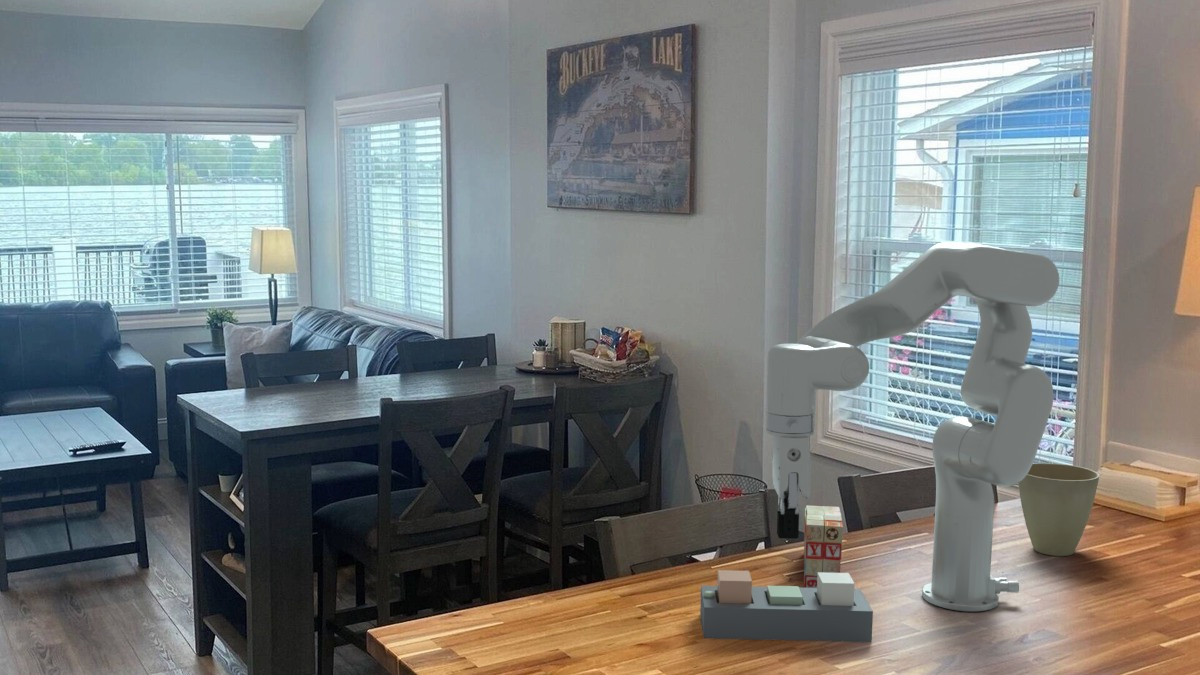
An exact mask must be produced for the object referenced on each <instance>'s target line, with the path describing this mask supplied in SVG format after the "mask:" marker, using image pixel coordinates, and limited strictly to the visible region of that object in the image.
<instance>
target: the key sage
mask: <svg viewBox="0 0 1200 675" xmlns="http://www.w3.org/2000/svg"><path fill="white" fill-rule="evenodd" d="M766 587H767V602H768V604H787V605H802V602H803V597H802V594H801V592H800V589H799V588H800V587H799V586H798V585H797V586H796V585H795V586H794V585H767V586H766Z"/></svg>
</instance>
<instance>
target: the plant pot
mask: <svg viewBox="0 0 1200 675" xmlns="http://www.w3.org/2000/svg"><path fill="white" fill-rule="evenodd" d="M1100 475H1101V474H1099V472H1097V471H1094V470H1093V469H1091V468H1087V467H1082V466H1077V465H1072V464H1064V463H1053V462H1052V463H1051V462H1035V463H1034V462H1033V464H1032V466H1031V468H1030V470H1029V472H1028V474H1027V475H1026V476H1025V478H1024V479H1023V480H1022V481H1020V482H1019V483H1017V485H1018V491H1019V499H1020V504H1021V508H1022V509H1021V510H1022V514H1023V517H1024V522H1025V525H1026V529H1027V532H1028V536H1029V539H1030V543H1031V546H1032V548H1033V550H1035V551H1036V552H1037V553H1040V554H1043V555H1047V556H1054V557H1055V556H1056V557H1066V556H1072V555H1073V554H1074V553H1075V552H1076V550H1077V547H1078V546H1079V543H1080V541H1081V539H1082V536H1083V534H1084V531H1085V528H1086V526H1087V523H1088V521H1089V519H1090V518H1089V517H1090V515H1091V513H1092V508H1093V506H1094V502H1095V497H1096V493H1097V489H1098V485H1099V480H1100Z"/></svg>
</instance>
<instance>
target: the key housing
mask: <svg viewBox="0 0 1200 675" xmlns="http://www.w3.org/2000/svg"><path fill="white" fill-rule="evenodd" d="M799 589H800V592H801V594H802V597H803V602H802V605H787V604H768V602H767V586H752V597H751V604H743V603H718V602H717V585H700V607H699V608H700V622H701V630H702V636H703V639H715V640H716V639H719V640H722V639H723V640H757V641H758V640H762V641H763V640H766V641H799V642H800V641H802V642H808V641H809V642H842V643H843V642H844V643H846V642H848V643H849V642H850V643H851V642H852V643H872V642H873V640H872V639H873V624H874V623H873V617H874V611H873V609H872V606H871V605H870V604H869V601H868V599H867V598H866V596H865V595H864V593H863V591H862V589H861V588H854V606H831V605H819V603H818V601H817V588H804V587H799Z"/></svg>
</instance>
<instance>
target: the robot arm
mask: <svg viewBox="0 0 1200 675" xmlns="http://www.w3.org/2000/svg"><path fill="white" fill-rule="evenodd" d="M1059 285H1060V273H1059V270H1058V268H1057V266H1056V264H1055V263H1054V262H1053V261H1052V260H1051V259H1050V258H1049V257H1047V256H1045V255H1042V254H1039V253H1031V252H1026V251H1019V250H1011V249H1006V248H1001V247H995V246H990V245H983V244H978V243H966V242H965V243H963V242H952V241H951V242H939V243H937V244H934V245H933V246H931V247H930V248H928V249H927V250H926V251H924V252H923V253H921V255H919V257H917V258H916V259H915V260H913V262H911V263H910V264H909V265H907V267H905V268H904V269H903V270H902V271H900V273H898V274H896V276H895V277H893V278H892V279H890V281H889V282H887V283H886V284H885V285H884V286H882V288H880V289H878V290H877V291H875V292H873V293H871V294H869V295H867V296H864V297H862V298H860V299H858V300H856V301H853V302H851V303H849V304H848V305H845V306H842V307H841V308H839V309H837V310H835V311H833V312H832V313H830V314H828V315H827V316H825V317H824V318H823V319H821V320H820V321H819V322H817V323H816V324H815V325H814V326H813V327H811V328H810V329H809V330H808V331H806V333H804V334H803V335H802V336H801V337H800V338H799V339H798V340H797V342H796V343H780V344H779V343H777V344H775V345H773V346H771V347H770V348H769V350H768V352H767V367H766V368H767V370H766V371H767V374H766V380H767V381H766V409H765V410H766V414H765V416H766V418H765V432H766V433H767V434H769V435H771V436H772V464H771V465H772V466H771V467H772V484H773V487H774V491H775V492H776V494H777V496H778V501H777V503H778V505H777V506H778V510H777V511H776V513H777V514H776V517H777V518H776V535H777V537H778V539H787V540H788V539H792V540H794V539H795V540H796V539H798V538H799V533H800V532H799V531H800V514H799V511H800V510H799V509H800V508H799V506H800V494H801V496H802V497H803V498H804V499H805V500H809V498H810V497H811V452H810V436H813V435H815V432H816V431H815V428H816V427H815V424H816V396H817V395H816V394H817V393H816V391H819V390H821V391H831V392H832V391H833V392H834V391H835V392H846V391H848V392H849V391H852V390H855V389H857V388H859V387H860V386H861V385H863V383H864V382H866V379H867V377H868V375H869V373H870V363H869V360H868V357H867V356H866V354H865V353H864V351H863V350H861V349H860V348H859V346H862V345H864V344H867V343H869V342H870V343H871V342H873V341H878V340H884V339H890V338H896V337H899V336H903V335H906V334H909V333H912V332H913V331H915V330H917V329H918V328H919V327H920V326H921V325H922V324H923V323H924V322H925V321H927V320H928V319H929V318H930V317H932V316H933V315H934V314H935V313H936V312H937V311H939V310H940V309H941V308H942V307H943V306H944V305H945V304H947V303H948V302H949V301H951V299H952V298H955V297H957V296H959V297H968V298H972V299H974V300H975V303H976V306H977V308H978V312H979V317H980V322H979V323H980V324H979V330H978V333H977V336H976V340H975V343H974V346H973V349H972V352H971V354H970V358H969V360H968V363H967V367H966V368H965V371H964V375H963V378H962V382H961V386H960V397H961V399H962V401H963V402H964V404H965V405H966V406H968V407H969V408H970V409H972V410H975V411H976V412H977V411H978V412H980V413H982V414H986V415H991V416H994V417H996V418H995V421H994V423H992V422H989V421H985V420H981V419H977V418H975V417H969V416H955V417H950V418H948V419H945V420H944V421H943V422H942V423H940V425H938V427H937V429H936V430H935V433H934V435H933V438H932V458H933V464H934V472H935V488H936V490H935V507H934V508H935V509H934V529H933V531H934V532H933V546H932V547H933V548H932V567H931V568H932V569H931V570H932V571H931V582H929V583H926V584H924V585H923V587H922V588H921V597H922V598H923V599H924V600H925V601H926V602H928V603H929V604H931V605H934V606H937V607H939V608H943V609H946V610H953V611H959V612H960V611H961V612H985V611H989V610H992V609H994V608H996V607H997V606H998V605H999V599H1000V598H999V595H1000V593H1001V592H1003V593H1005V592H1006V593H1016V594H1017V593H1019V591H1020V584H1019V582H1018V580H1007V577H994V575H992V573H991V570H992V555H993V554H992V551H993V533H994V532H993V530H994V515H995V495H994V494H995V493H994V490H993V486H992V485H994V486H998V487H1005V488H1006V487H1013V486H1015V485H1018V483H1019V482H1020V481H1022V480H1023V479H1024V478H1025V476H1026V475H1027V474H1028V472H1029V470H1030V468H1031V466H1032V464H1033V463H1034V461H1035V458H1036V455H1037V453H1038V450H1039V447H1040V444H1041V442H1042V438H1043V436H1044V433H1045V430H1046V427H1047V423H1048V422H1049V418H1050V416H1051V413H1052V412H1051V411H1052V409H1053V404H1054V387H1053V383H1052V381H1051V378H1050V377H1049V375H1048V374H1047V373H1046V372H1045V371H1044V370H1043V369H1041V368H1040V367H1038V366H1035V365H1031V364H1028V363H1026V360H1027V356H1028V353H1029V349H1030V345H1031V342H1032V336H1033V326H1032V321H1031V320H1032V319H1031V316H1030V314H1029V310H1028V308H1027V307H1038V306H1042V305H1044V304H1046V303H1047V302H1049V301H1050V300H1051V299H1052V298H1053V297H1054V296H1055V295H1056V294H1057V291H1058V289H1059Z"/></svg>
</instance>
